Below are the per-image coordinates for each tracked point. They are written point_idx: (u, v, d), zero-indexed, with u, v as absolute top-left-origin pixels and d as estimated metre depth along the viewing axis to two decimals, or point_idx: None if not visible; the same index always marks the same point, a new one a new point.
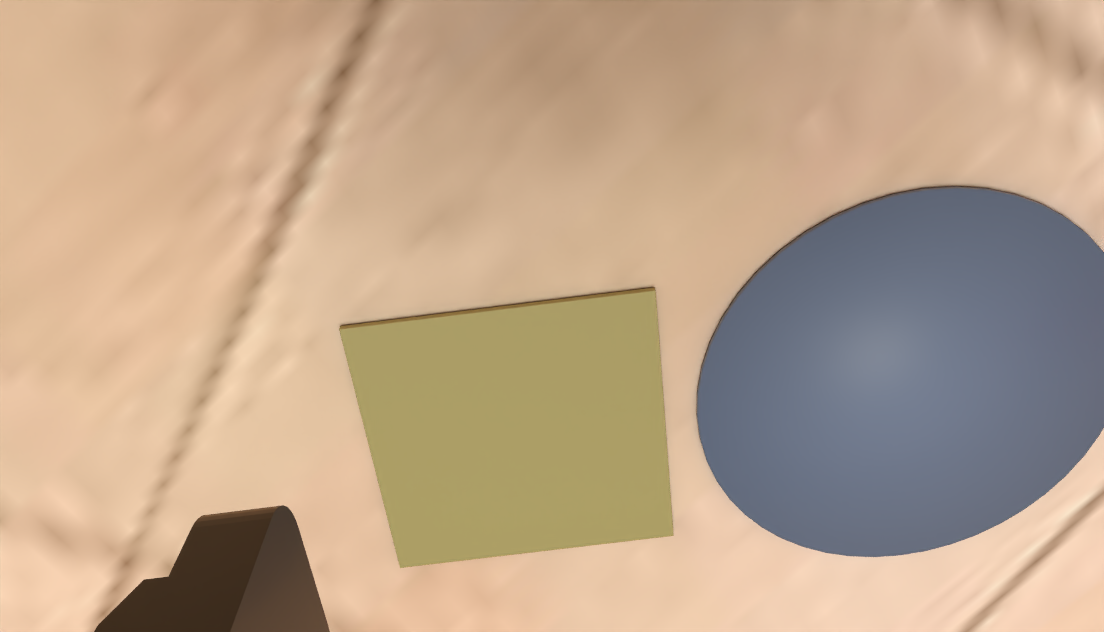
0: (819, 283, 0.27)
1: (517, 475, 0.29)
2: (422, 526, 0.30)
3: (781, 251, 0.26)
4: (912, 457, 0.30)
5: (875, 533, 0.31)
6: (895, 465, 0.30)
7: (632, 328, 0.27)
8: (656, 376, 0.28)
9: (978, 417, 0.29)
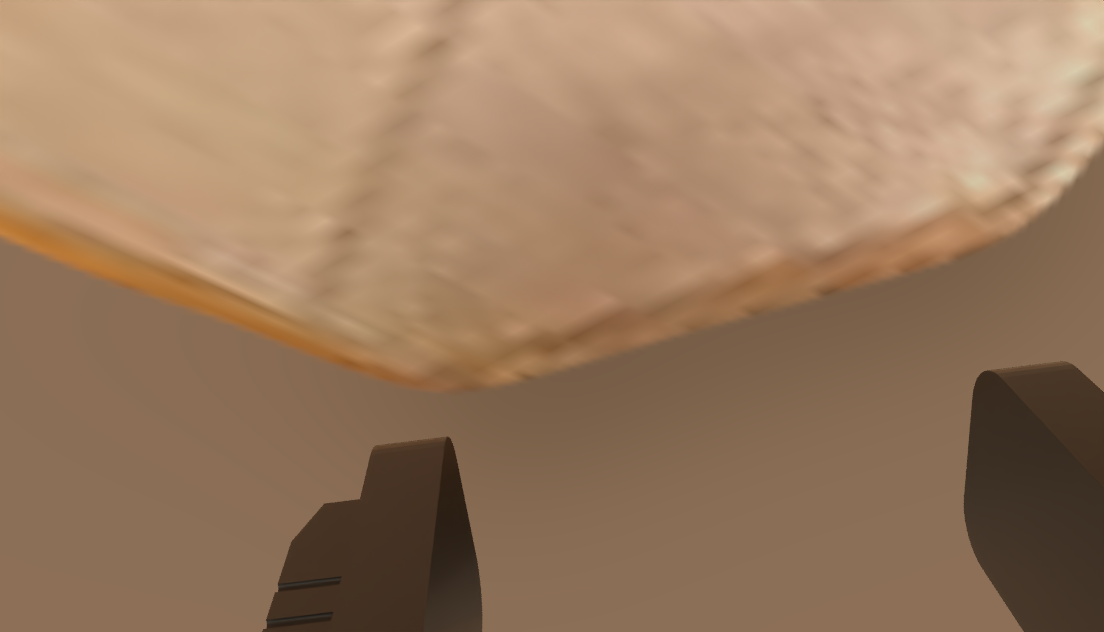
0: None
1: None
2: None
3: None
4: None
5: None
6: None
7: None
8: None
9: None
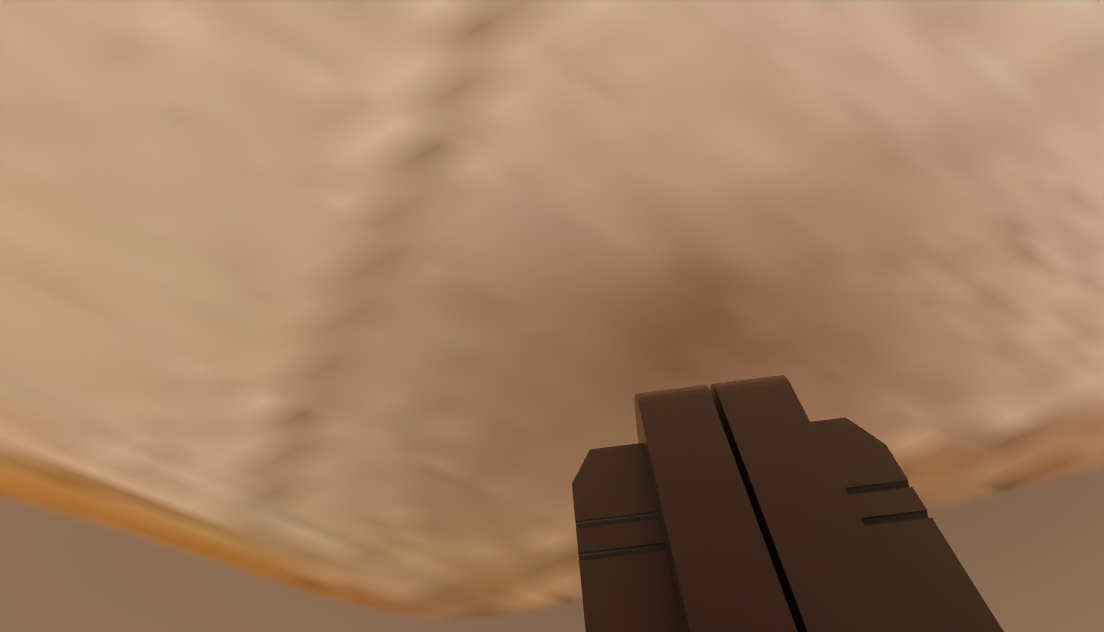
0: None
1: None
2: None
3: None
4: None
5: None
6: None
7: None
8: None
9: None
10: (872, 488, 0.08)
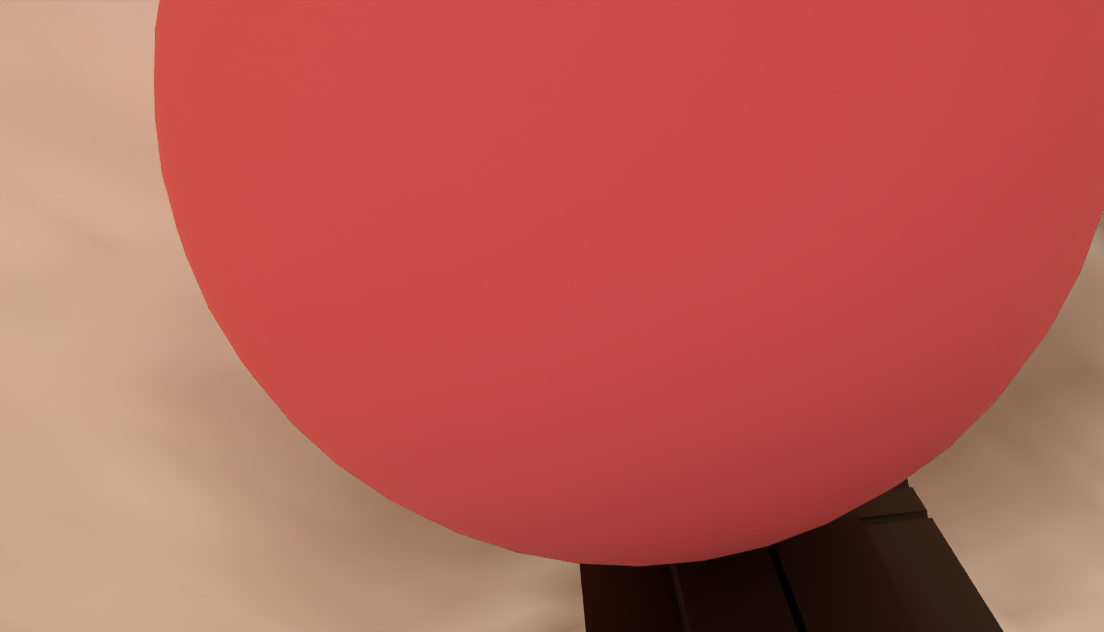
0: None
1: None
2: None
3: None
4: None
5: None
6: None
7: None
8: None
9: None
10: None
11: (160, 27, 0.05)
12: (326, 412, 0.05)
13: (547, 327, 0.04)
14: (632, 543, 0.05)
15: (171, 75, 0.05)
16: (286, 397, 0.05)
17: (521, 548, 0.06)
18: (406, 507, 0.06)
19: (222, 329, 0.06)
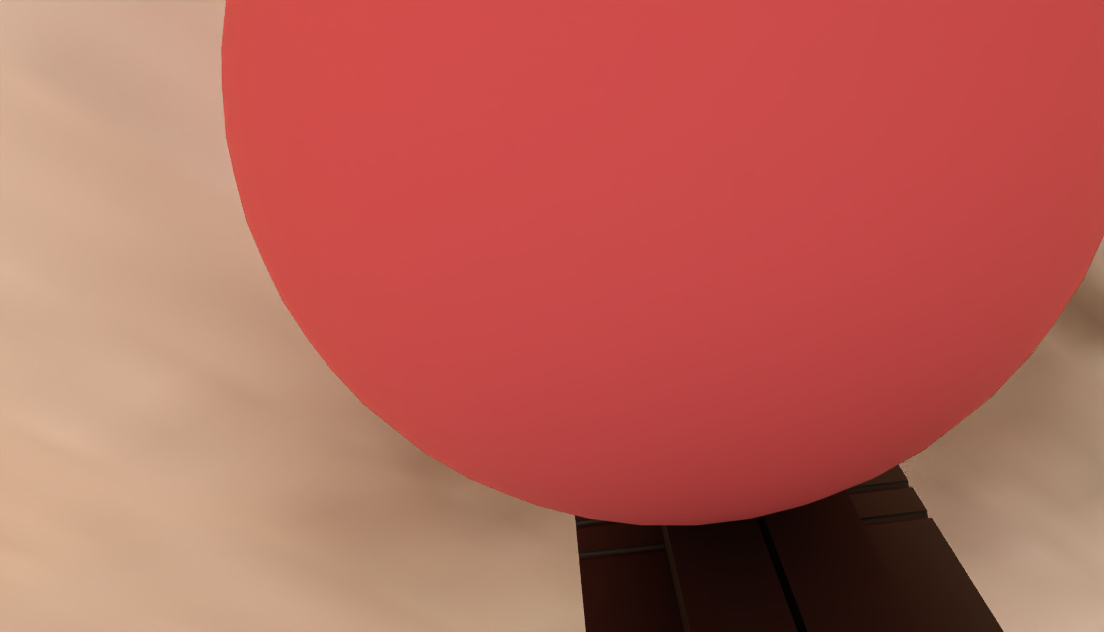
0: None
1: None
2: None
3: None
4: None
5: None
6: None
7: None
8: None
9: None
10: (872, 489, 0.08)
11: None
12: (320, 216, 0.05)
13: (542, 47, 0.04)
14: (617, 391, 0.05)
15: None
16: (285, 226, 0.05)
17: (500, 423, 0.05)
18: (387, 384, 0.05)
19: (242, 190, 0.06)
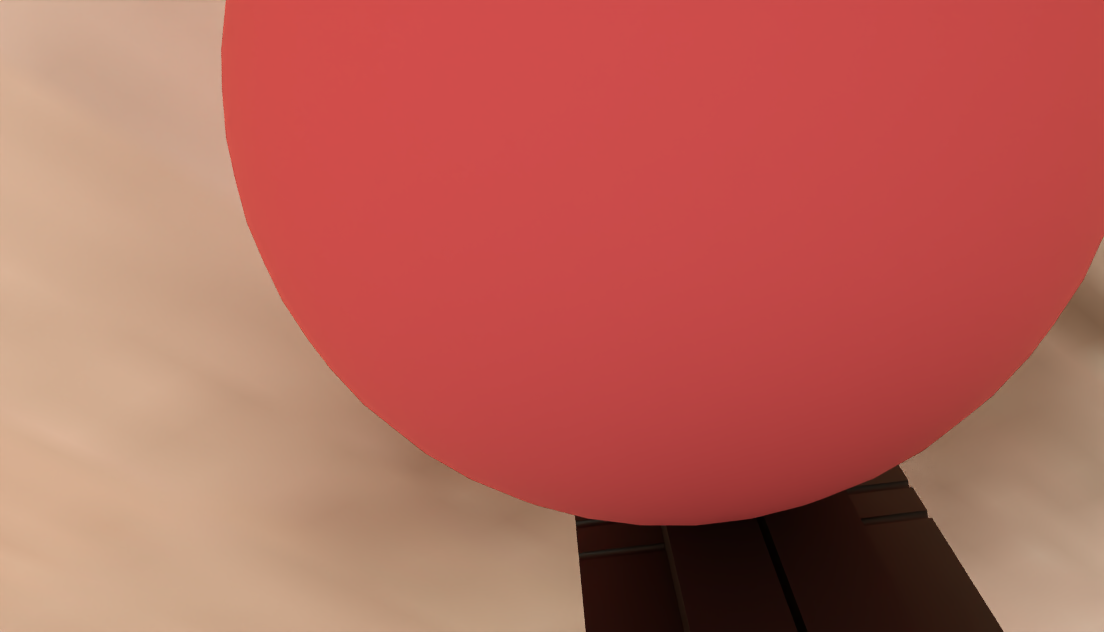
0: None
1: None
2: None
3: None
4: None
5: None
6: None
7: None
8: None
9: None
10: (872, 489, 0.08)
11: None
12: (320, 216, 0.05)
13: (540, 50, 0.04)
14: (615, 391, 0.05)
15: None
16: (285, 226, 0.05)
17: (499, 423, 0.05)
18: (387, 384, 0.05)
19: (242, 191, 0.06)
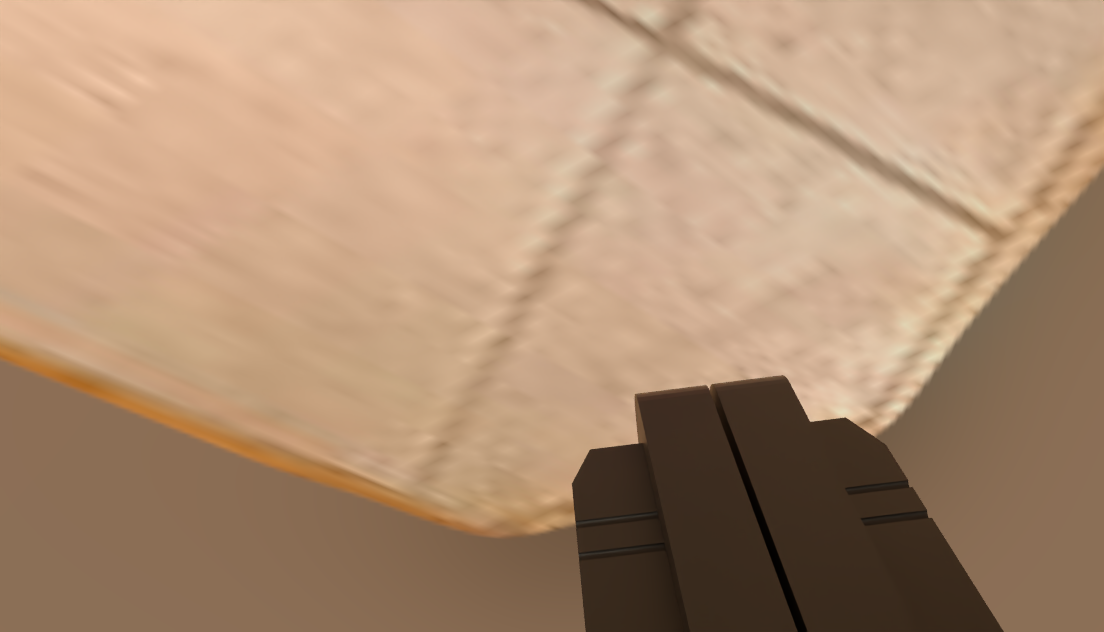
0: None
1: None
2: None
3: None
4: None
5: None
6: None
7: None
8: None
9: None
10: (872, 489, 0.08)
11: None
12: None
13: None
14: None
15: None
16: None
17: None
18: None
19: None
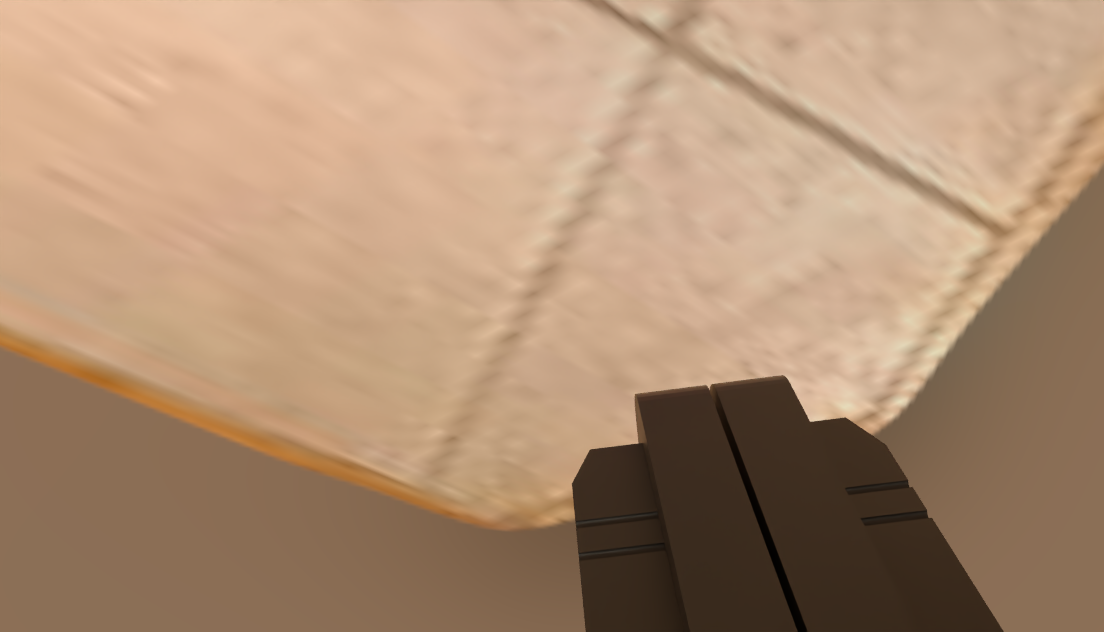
0: None
1: None
2: None
3: None
4: None
5: None
6: None
7: None
8: None
9: None
10: (872, 489, 0.08)
11: None
12: None
13: None
14: None
15: None
16: None
17: None
18: None
19: None
